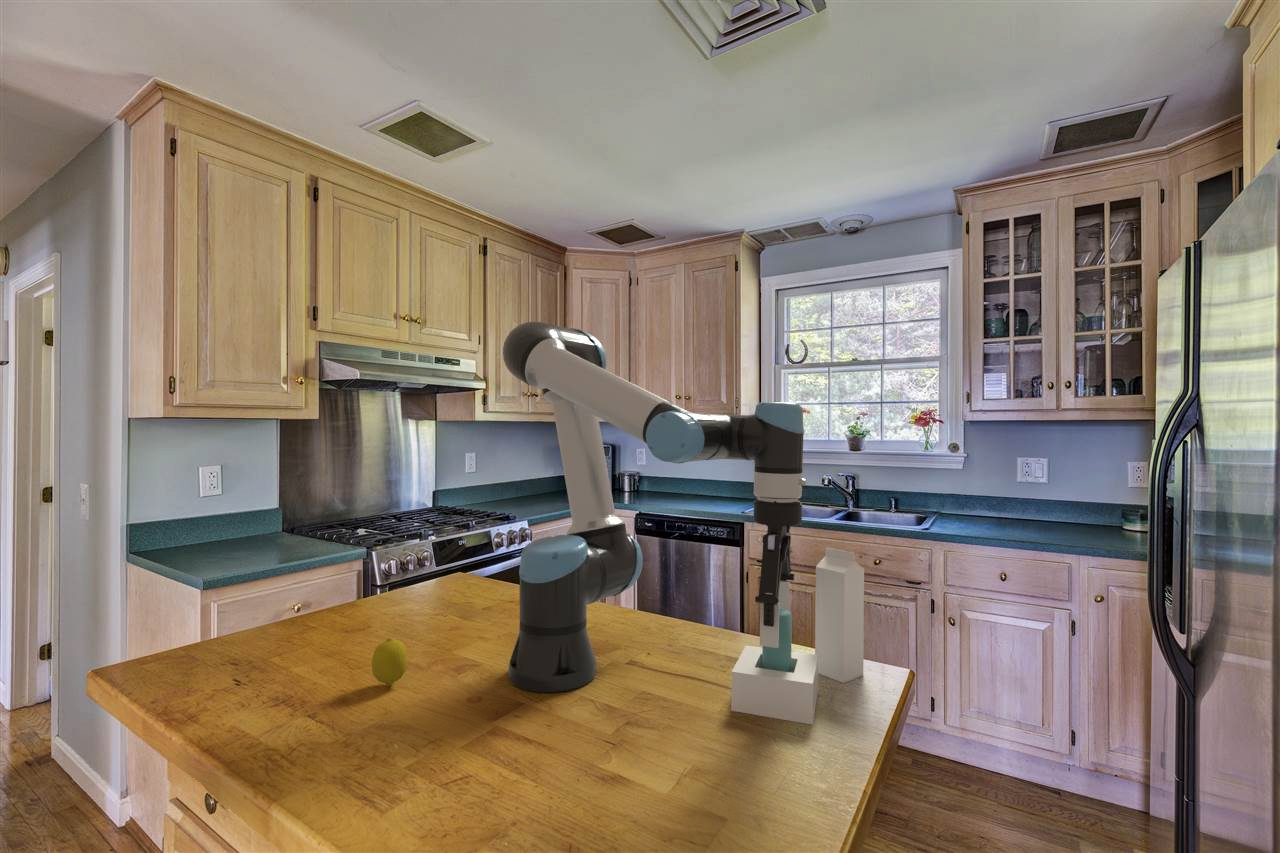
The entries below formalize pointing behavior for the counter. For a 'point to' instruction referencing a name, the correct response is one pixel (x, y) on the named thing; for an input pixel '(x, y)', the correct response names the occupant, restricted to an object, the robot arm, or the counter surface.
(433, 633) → the counter surface
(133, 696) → the counter surface
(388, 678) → the lemon
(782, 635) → the peg
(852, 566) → the milk
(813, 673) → the socket
